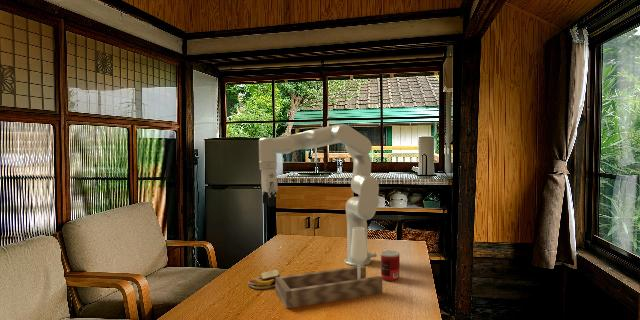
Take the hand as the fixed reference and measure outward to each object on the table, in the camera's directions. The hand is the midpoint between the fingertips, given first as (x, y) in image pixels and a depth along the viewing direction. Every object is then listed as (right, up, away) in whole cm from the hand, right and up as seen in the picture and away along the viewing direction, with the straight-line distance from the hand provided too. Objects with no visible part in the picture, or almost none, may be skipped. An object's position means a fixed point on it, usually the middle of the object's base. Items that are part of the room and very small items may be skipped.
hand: (269, 204), depth 173 cm
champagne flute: (+38, -32, -17) cm, 52 cm away
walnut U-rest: (+26, -32, -21) cm, 46 cm away
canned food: (+52, -31, -6) cm, 61 cm away
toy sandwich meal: (-1, -32, -10) cm, 34 cm away
